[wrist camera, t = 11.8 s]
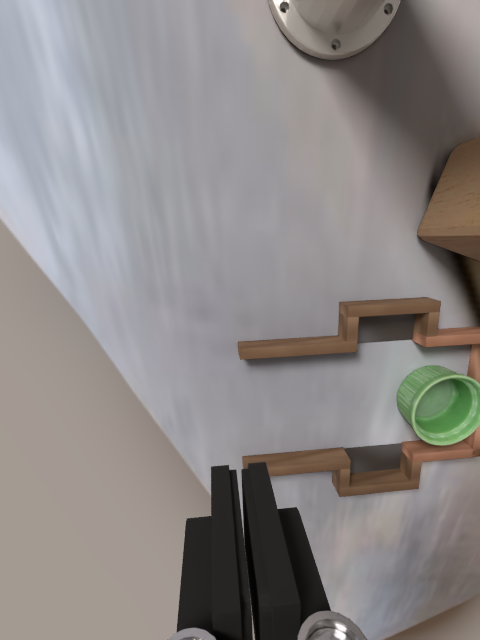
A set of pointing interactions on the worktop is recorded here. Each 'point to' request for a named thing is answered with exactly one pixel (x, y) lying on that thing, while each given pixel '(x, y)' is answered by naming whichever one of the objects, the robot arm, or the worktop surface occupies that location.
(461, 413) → the ramekin
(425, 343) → the box
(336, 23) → the robot arm
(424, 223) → the block
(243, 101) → the worktop surface
